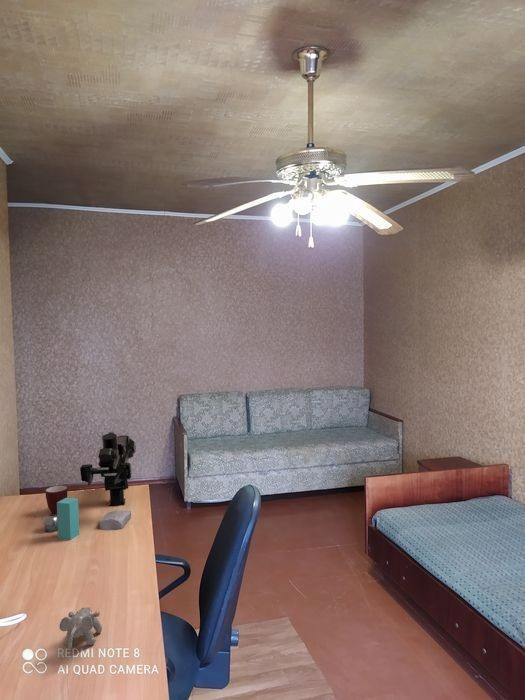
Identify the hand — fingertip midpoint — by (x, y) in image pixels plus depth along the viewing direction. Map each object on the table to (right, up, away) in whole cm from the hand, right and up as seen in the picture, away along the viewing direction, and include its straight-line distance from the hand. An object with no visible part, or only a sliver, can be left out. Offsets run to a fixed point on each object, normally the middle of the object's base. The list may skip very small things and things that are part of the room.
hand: (101, 483), depth 183 cm
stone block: (+4, -17, +5) cm, 18 cm away
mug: (-23, -16, +17) cm, 33 cm away
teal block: (-9, -17, -6) cm, 21 cm away
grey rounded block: (-18, -17, 0) cm, 25 cm away
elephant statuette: (+17, -20, -67) cm, 72 cm away
